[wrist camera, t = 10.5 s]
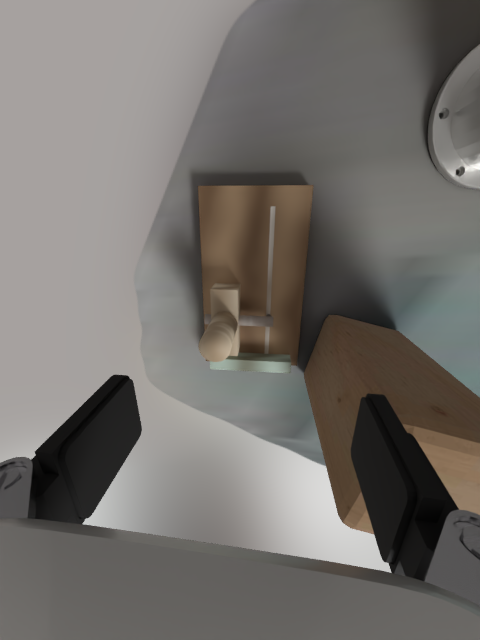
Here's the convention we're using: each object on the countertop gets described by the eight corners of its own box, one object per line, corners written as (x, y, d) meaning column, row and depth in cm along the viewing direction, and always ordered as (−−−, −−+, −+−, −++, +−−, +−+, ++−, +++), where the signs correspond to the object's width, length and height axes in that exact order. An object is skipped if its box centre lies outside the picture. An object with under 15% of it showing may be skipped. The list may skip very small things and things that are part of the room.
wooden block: (326, 309, 33) (402, 421, 15) (402, 330, 33) (575, 467, 15) (300, 375, 37) (336, 531, 18) (369, 393, 37) (475, 568, 18)
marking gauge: (274, 284, 31) (277, 308, 22) (271, 346, 34) (272, 388, 25) (207, 283, 31) (185, 305, 23) (209, 343, 34) (190, 383, 26)
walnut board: (310, 187, 29) (316, 182, 25) (295, 358, 36) (298, 373, 32) (202, 188, 30) (193, 183, 26) (208, 353, 37) (202, 368, 33)
